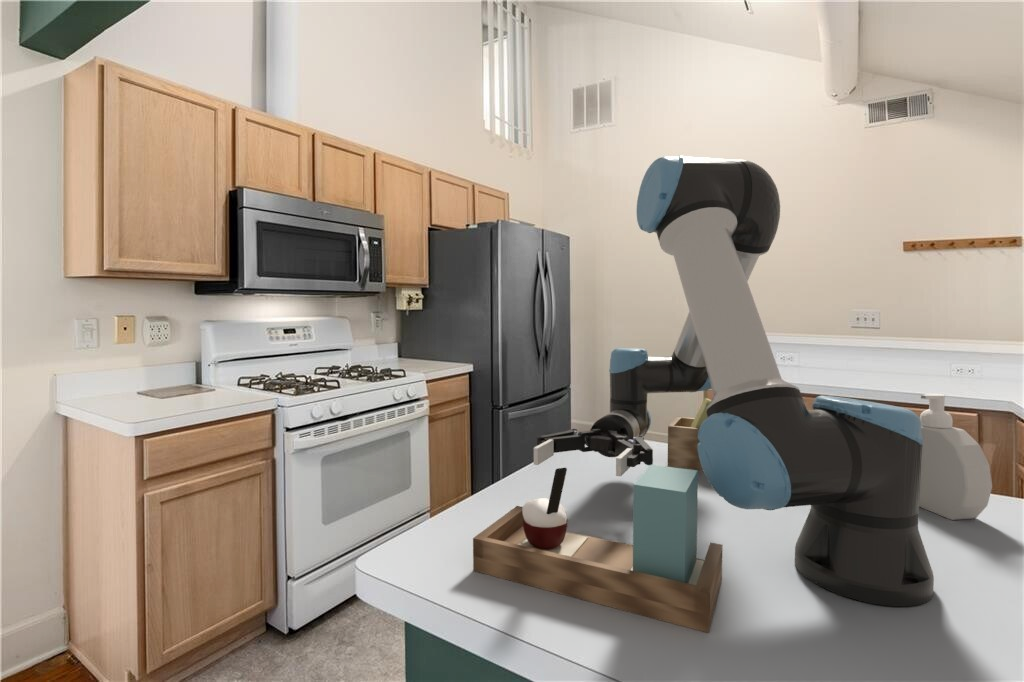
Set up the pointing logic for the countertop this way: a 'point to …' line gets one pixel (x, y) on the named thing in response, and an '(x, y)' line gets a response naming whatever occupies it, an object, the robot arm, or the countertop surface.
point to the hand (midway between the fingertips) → (575, 461)
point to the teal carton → (665, 522)
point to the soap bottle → (951, 466)
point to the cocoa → (546, 516)
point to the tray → (599, 573)
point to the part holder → (683, 444)
